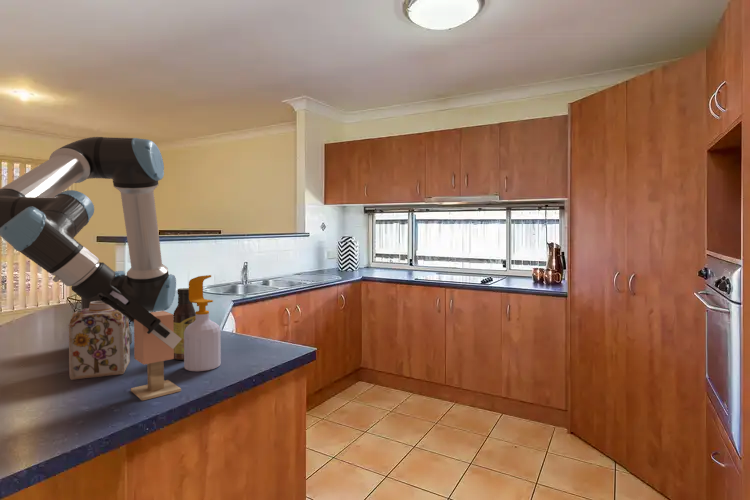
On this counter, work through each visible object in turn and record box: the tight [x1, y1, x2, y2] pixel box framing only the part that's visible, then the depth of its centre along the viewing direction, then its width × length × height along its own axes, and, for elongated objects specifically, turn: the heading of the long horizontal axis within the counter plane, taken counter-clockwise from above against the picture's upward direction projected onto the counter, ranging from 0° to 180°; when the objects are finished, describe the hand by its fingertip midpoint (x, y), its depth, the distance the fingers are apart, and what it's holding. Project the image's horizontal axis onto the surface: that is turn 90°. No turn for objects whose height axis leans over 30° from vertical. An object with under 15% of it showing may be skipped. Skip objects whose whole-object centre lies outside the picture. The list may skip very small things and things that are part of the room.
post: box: [130, 361, 182, 401], centre depth 95 cm, size 8×8×7 cm
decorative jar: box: [68, 301, 131, 381], centre depth 109 cm, size 12×12×18 cm
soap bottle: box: [183, 274, 222, 373], centre depth 113 cm, size 9×9×25 cm
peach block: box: [133, 310, 175, 365], centre depth 94 cm, size 6×6×10 cm
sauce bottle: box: [173, 287, 196, 361], centre depth 121 cm, size 6×6×20 cm
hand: (171, 340), depth 97 cm, fingers closed on peach block, 6 cm apart
